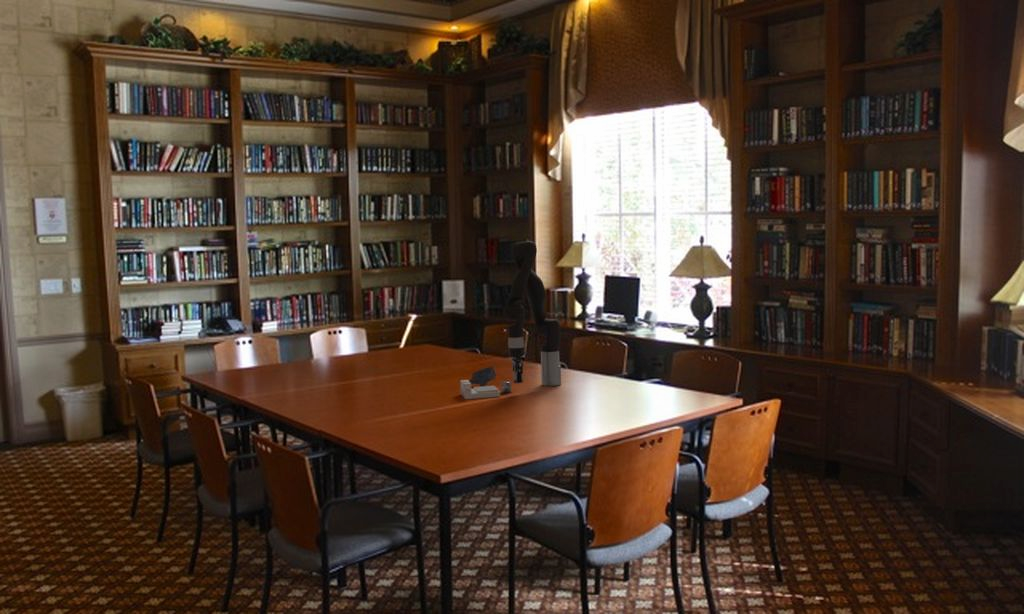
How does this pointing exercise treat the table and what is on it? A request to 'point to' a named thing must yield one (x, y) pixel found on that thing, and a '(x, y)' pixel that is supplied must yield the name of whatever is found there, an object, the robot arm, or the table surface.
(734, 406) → the table surface
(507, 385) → the cylinder
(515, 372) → the grey glossy egg shape
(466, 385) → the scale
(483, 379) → the stone
